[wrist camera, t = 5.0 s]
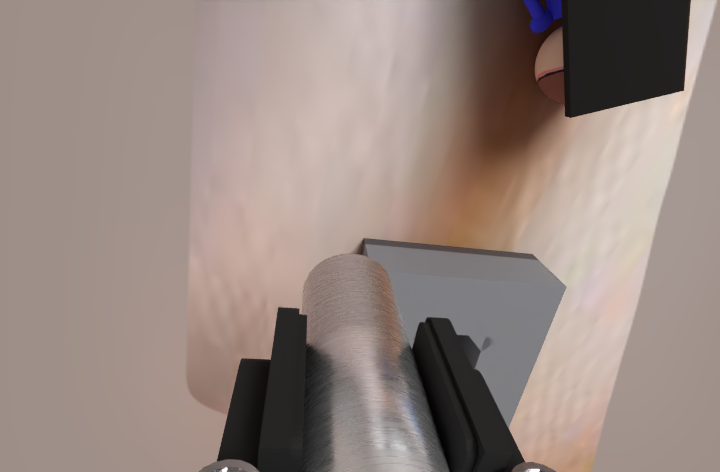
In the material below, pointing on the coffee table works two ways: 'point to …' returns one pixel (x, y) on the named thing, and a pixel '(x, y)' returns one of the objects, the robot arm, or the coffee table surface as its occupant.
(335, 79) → the coffee table surface
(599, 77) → the figurine character
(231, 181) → the coffee table surface
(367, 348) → the aluminium pin
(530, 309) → the bore block
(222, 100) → the coffee table surface
